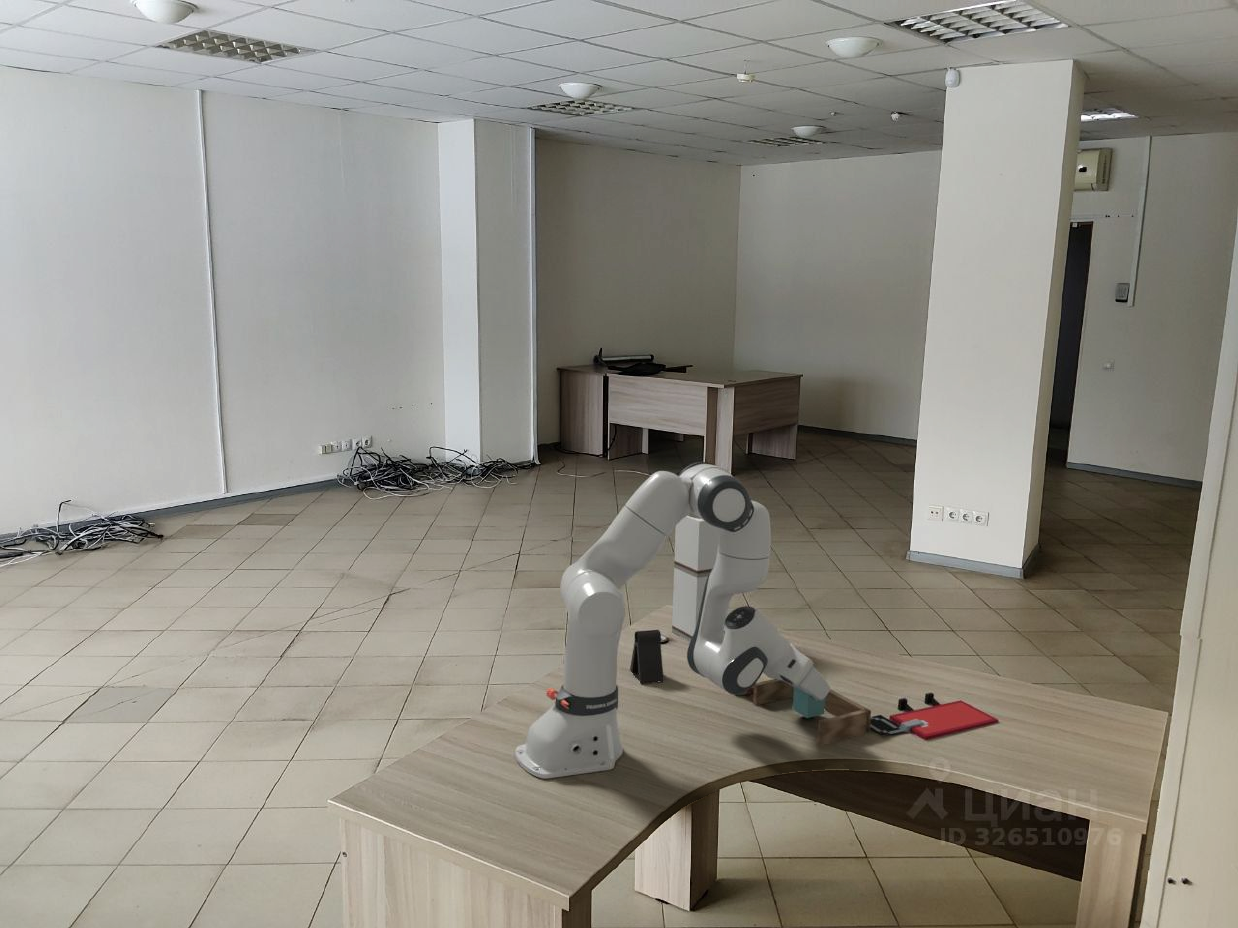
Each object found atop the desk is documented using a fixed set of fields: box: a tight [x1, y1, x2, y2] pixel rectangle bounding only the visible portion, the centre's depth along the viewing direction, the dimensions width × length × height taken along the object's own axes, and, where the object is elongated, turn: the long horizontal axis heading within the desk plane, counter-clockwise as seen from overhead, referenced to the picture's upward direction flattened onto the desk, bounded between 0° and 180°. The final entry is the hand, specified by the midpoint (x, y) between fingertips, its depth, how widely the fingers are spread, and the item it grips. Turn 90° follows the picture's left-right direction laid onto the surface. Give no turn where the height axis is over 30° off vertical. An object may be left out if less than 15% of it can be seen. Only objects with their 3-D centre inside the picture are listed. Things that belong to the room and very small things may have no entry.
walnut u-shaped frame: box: [752, 678, 872, 746], centre depth 220 cm, size 14×24×5 cm, turn 30°
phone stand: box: [629, 629, 665, 685], centre depth 241 cm, size 9×6×12 cm, turn 17°
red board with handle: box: [870, 692, 999, 741], centre depth 220 cm, size 30×3×15 cm
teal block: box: [792, 687, 825, 719], centre depth 219 cm, size 5×5×8 cm
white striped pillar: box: [671, 515, 725, 642], centre depth 270 cm, size 11×11×35 cm
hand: (808, 691), depth 219 cm, fingers closed on teal block, 5 cm apart
